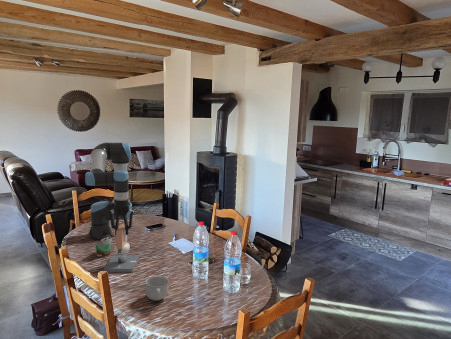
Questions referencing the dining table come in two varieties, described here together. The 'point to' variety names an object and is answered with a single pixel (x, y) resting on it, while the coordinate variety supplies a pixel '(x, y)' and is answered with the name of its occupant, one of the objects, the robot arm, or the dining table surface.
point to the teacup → (156, 287)
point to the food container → (103, 246)
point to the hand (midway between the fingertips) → (121, 240)
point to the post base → (121, 263)
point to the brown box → (121, 241)
